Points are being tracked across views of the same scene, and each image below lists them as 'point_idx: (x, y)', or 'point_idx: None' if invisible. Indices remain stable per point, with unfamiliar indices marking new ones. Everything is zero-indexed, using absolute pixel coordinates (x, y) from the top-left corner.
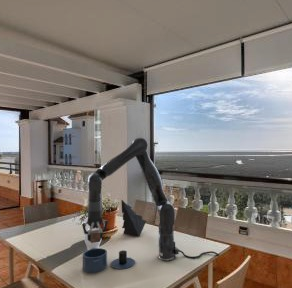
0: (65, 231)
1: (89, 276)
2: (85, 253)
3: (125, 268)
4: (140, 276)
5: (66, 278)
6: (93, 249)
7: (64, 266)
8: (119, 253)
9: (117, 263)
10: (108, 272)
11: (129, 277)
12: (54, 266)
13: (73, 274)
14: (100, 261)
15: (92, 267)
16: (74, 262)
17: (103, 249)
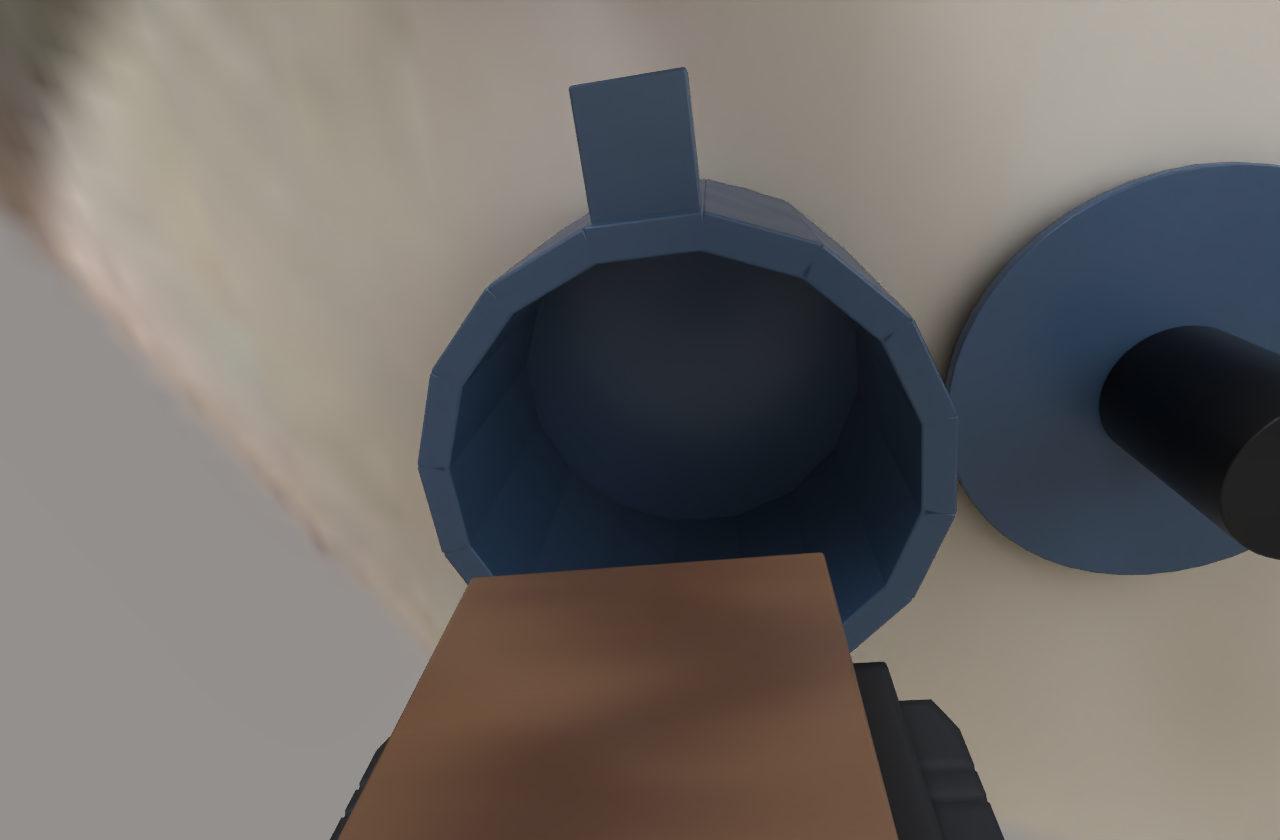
0: None
1: None
2: (468, 386)
3: (1141, 570)
4: (1248, 753)
5: (341, 523)
6: (638, 256)
7: (182, 142)
8: (1218, 513)
9: (1072, 392)
10: None
11: (1107, 731)
12: (11, 88)
13: (403, 452)
14: None
15: None
16: (306, 12)
17: (896, 357)
